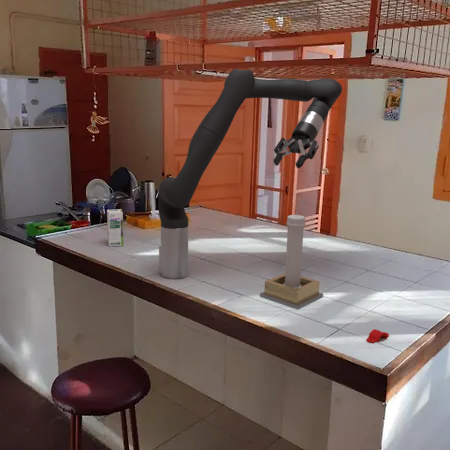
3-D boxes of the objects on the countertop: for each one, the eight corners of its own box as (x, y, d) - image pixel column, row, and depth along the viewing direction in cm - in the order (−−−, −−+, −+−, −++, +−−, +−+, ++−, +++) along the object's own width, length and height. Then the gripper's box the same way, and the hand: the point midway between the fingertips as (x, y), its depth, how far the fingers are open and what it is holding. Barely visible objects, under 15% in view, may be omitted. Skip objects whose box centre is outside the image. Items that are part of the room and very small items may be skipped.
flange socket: (259, 296, 154) (260, 281, 153) (285, 285, 165) (286, 270, 164) (297, 309, 145) (298, 293, 144) (323, 296, 156) (324, 281, 155)
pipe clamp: (372, 345, 125) (373, 337, 125) (363, 341, 127) (364, 333, 127) (391, 337, 130) (392, 329, 130) (382, 333, 132) (383, 325, 132)
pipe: (293, 288, 159) (299, 195, 152) (306, 295, 154) (312, 199, 146) (279, 291, 156) (284, 196, 149) (291, 298, 151) (296, 200, 144)
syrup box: (109, 247, 202) (108, 211, 199) (107, 243, 208) (106, 208, 204) (123, 246, 204) (122, 211, 201) (121, 242, 210) (121, 208, 206)
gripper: (286, 119, 169) (263, 155, 163) (322, 121, 160) (300, 159, 154) (294, 135, 174) (272, 170, 169) (330, 137, 165) (309, 175, 159)
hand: (286, 165), depth 161 cm, fingers open, 8 cm apart
